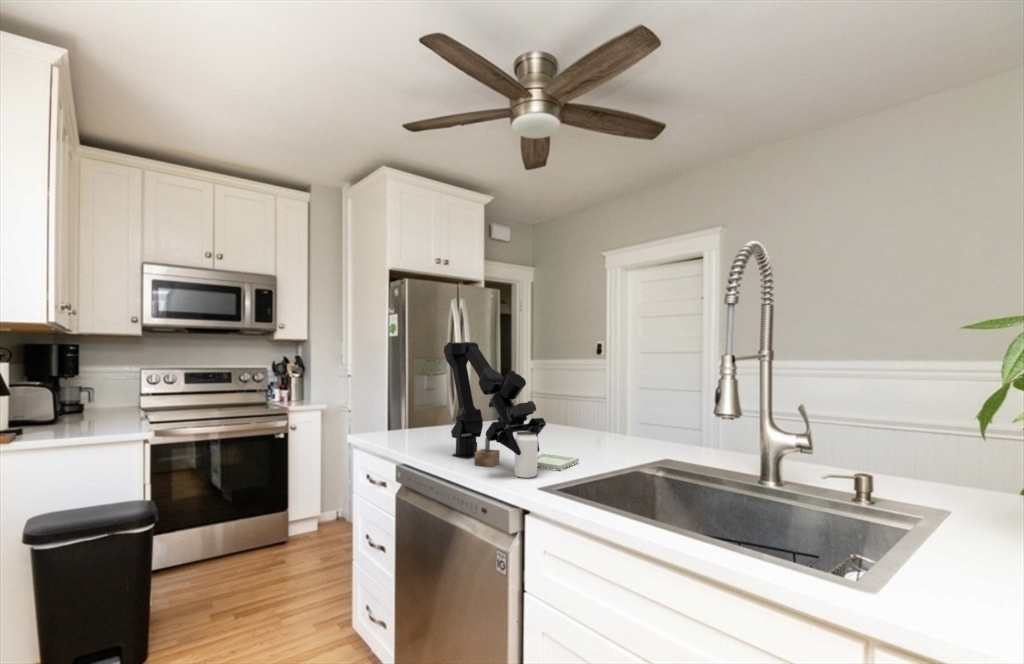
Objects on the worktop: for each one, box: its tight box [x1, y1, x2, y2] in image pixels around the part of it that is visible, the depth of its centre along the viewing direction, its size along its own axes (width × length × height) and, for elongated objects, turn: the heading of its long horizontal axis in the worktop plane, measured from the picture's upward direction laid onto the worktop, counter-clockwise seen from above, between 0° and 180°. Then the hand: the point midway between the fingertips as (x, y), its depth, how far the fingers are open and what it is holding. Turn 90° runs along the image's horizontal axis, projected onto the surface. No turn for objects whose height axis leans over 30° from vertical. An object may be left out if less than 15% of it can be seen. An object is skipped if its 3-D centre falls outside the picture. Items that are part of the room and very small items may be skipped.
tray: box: [537, 452, 580, 471], centre depth 153 cm, size 13×13×2 cm
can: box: [514, 431, 539, 479], centre depth 138 cm, size 6×6×12 cm
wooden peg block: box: [474, 437, 501, 468], centre depth 152 cm, size 6×6×8 cm
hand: (529, 453), depth 137 cm, fingers closed on can, 6 cm apart
